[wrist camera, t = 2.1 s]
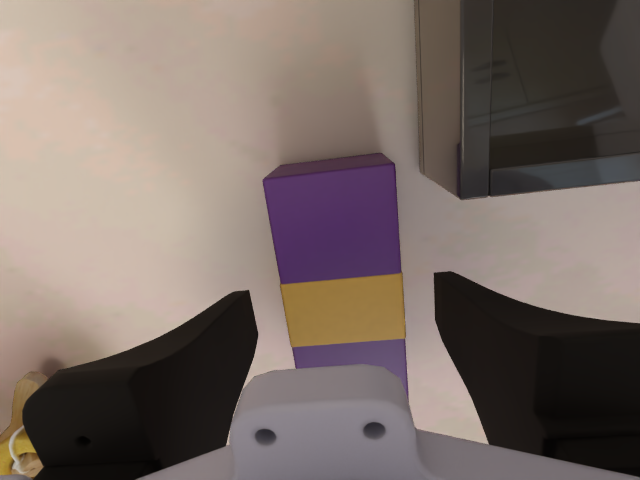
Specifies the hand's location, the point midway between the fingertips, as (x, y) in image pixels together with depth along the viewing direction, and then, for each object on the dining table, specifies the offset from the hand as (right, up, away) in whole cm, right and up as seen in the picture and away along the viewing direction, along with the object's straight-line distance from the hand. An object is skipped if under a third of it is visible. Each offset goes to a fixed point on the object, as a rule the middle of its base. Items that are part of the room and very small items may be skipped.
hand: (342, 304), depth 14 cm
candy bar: (0, +1, +3) cm, 3 cm away
